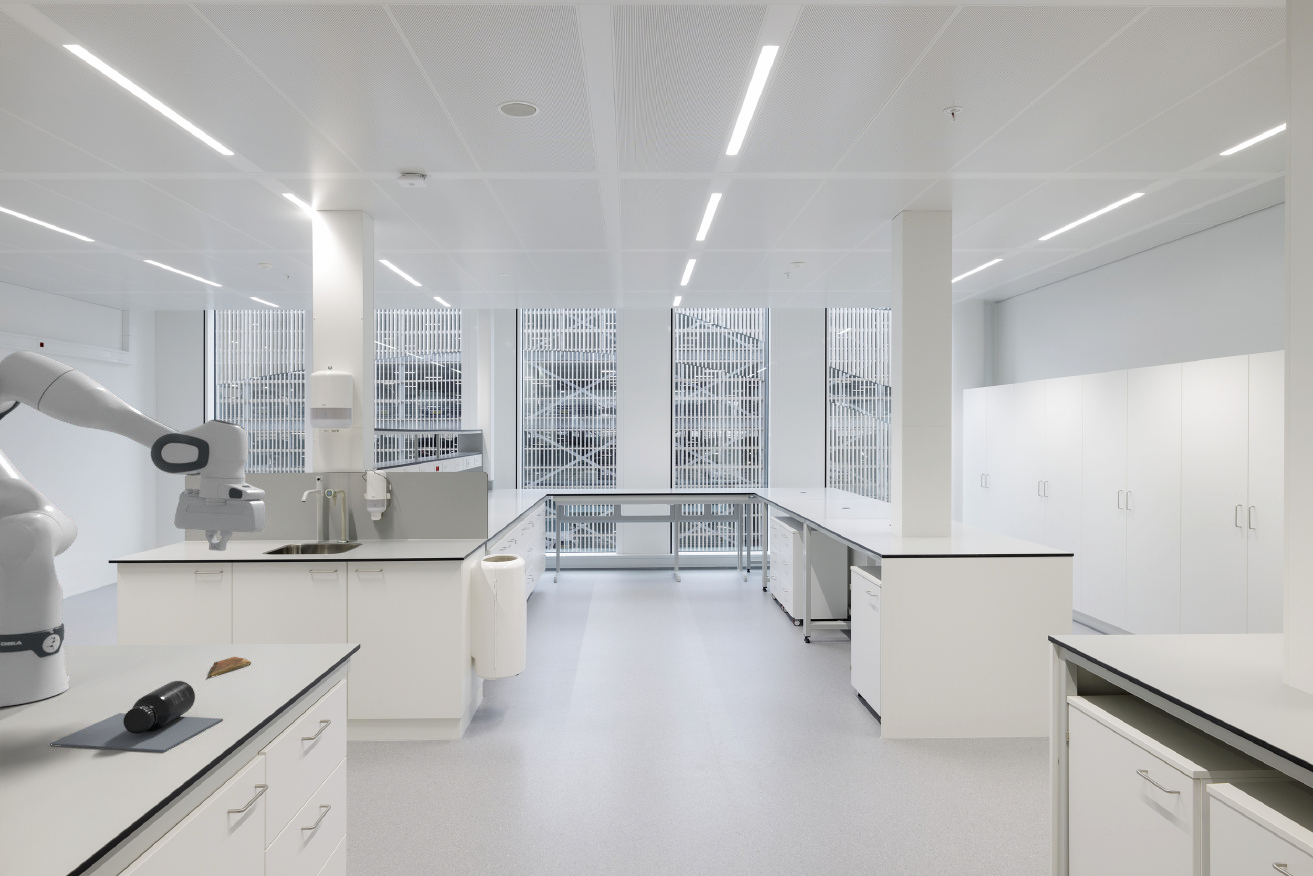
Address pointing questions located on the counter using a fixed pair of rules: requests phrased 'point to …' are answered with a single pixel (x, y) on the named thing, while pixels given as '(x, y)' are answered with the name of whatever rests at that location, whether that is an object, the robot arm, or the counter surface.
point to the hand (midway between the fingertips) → (217, 550)
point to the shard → (228, 665)
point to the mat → (118, 737)
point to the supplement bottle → (159, 707)
